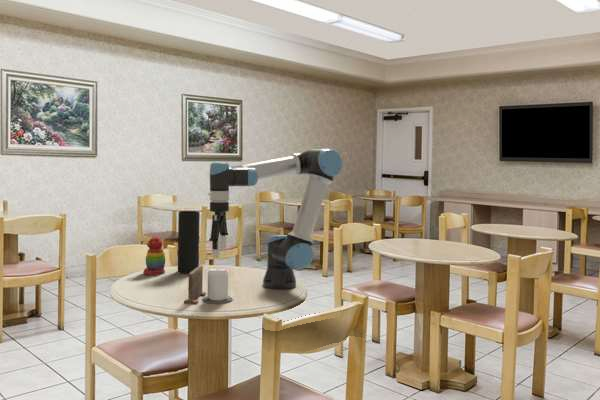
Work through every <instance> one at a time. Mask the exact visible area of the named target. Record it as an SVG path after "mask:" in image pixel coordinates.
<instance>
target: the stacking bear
mask: <svg viewBox="0 0 600 400" xmlns="http://www.w3.org/2000/svg"><path fill="white" fill-rule="evenodd" d="M146 246H147V247H148V249H147V252H146V257H145V265H146V268H144V269H143V272H144V273H143V275H144V276H159V275H164V274H165V272H166V270H165V266H166V254H165V251H164V249H163V248H162V247H163V240H162V238H160V237H157V236H154V237H151V238H150V239H149V240H148V241H147V243H146Z"/></svg>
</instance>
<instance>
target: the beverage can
mask: <svg viewBox="0 0 600 400" xmlns="http://www.w3.org/2000/svg"><path fill="white" fill-rule="evenodd" d="M206 296H207V298H208V299H210V300H213V301H222V300H225V299H227V298H228V296H229V271H228V268H224V267H212V268H209V270H208V272H207V292H206Z"/></svg>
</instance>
